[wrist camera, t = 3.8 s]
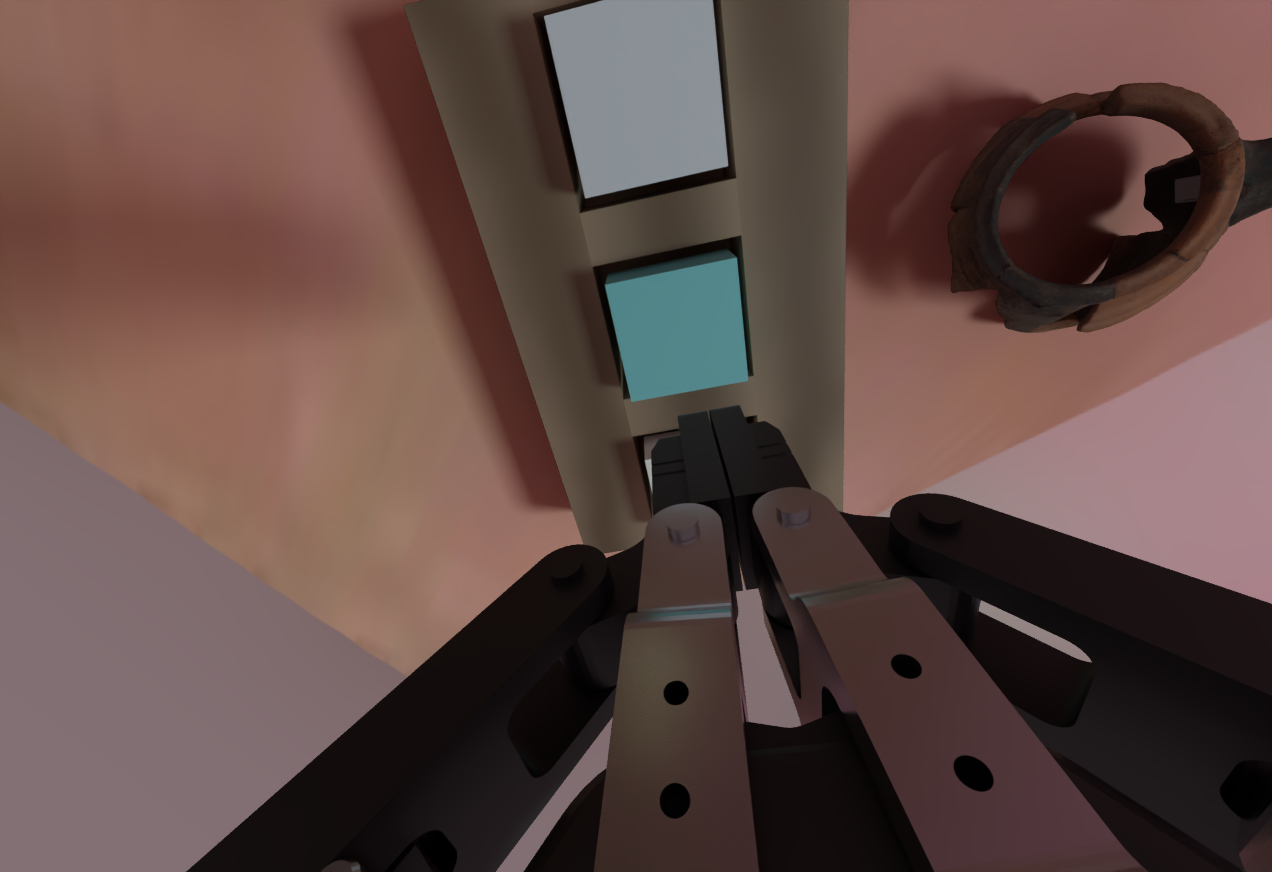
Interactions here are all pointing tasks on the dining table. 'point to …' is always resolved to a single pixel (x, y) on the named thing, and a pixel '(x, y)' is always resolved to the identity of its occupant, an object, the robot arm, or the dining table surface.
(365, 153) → the dining table surface
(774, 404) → the console
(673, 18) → the grey key
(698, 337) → the teal key
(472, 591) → the dining table surface
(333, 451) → the dining table surface
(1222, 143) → the pottery mug
